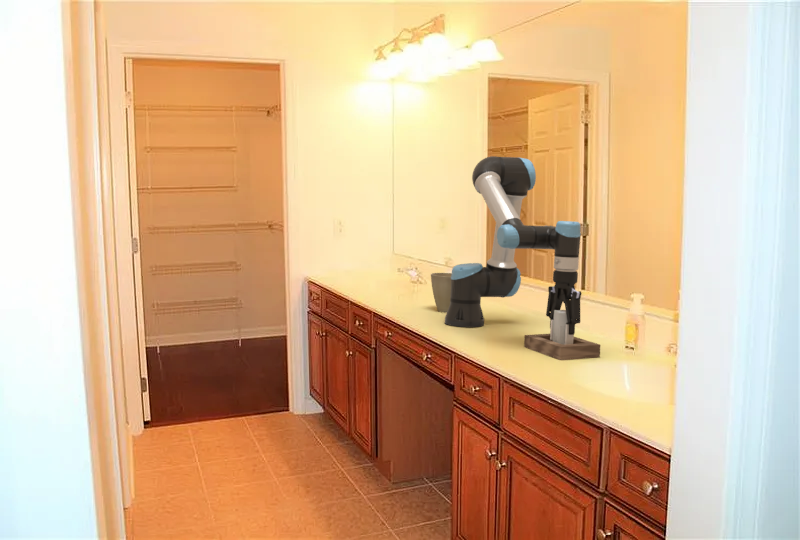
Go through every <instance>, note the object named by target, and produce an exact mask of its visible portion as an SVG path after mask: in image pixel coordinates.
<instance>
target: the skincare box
mask: <svg viewBox="0 0 800 540" xmlns="http://www.w3.org/2000/svg"><path fill="white" fill-rule="evenodd" d="M571 320H572V319H571ZM567 322H568V321H567V315H566V309H560V310H554V322H553V342H556V343H559V344H563V345H564V344H565V329H566V323H567Z"/></svg>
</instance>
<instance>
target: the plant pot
mask: <svg viewBox="0 0 800 540" xmlns="http://www.w3.org/2000/svg"><path fill="white" fill-rule="evenodd" d="M451 275H452V272H434V273H433V272H431V273H430V280H431V289H432V293H433V298H434V302H435V306H436V309H437V311H438V312H440V311H441V312H442V313H447V311H448V308H449V305H450V296H451Z"/></svg>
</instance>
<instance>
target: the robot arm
mask: <svg viewBox="0 0 800 540" xmlns="http://www.w3.org/2000/svg"><path fill="white" fill-rule="evenodd" d="M536 176H537V175H536V169H535V166H534V163H533V162H532V161H531V160H530V159H528V158H526V157H525V158H523V157H518V156H517V157H515V156H513V157H512V156H497V155H496V156H493V155H491V156H490V155H489V156H487V157H485V158H483V159H481V160H480V161H479V162H477V164H476V165H475V167H474V168H473V172H472V176H471V181H472V184H473V187H474V189H475V191H476V192H477V193H478V194H480V195H481V196H482V198H483V200H484V203H485V204H486V206H487V208H488V210H489V212H490V214H491V215H492V217H493V219H494V221H495V228H494V229H495V230H494V234H493V235H494V236H493V242H492V243H493V244H492V249H491V257H490V258H489V259H488V260H486V265H485V266H483V264H482V263H479V262H472V263H471V262H470V263H461V264H457V265H455V266H453V267H452V269H451V273H452V275H451V296H450V305H449V308H448V311H447V312H445V313H446V314H445V316H444V324H446V325H448V326H452V327H459V328H460V327H461V328H479V327H483V326H484V325H485V317H484V313H483V310H482V307H481V302H482V301H481V299H482V298H497V297H498V298H506V297H507V298H509V297H513V296H515V295H516V294H517V293H518V291H519V289H520V287H521V281H522V276H521V275H522V274H521V271H520V269H519V268H518V267H517V266H518V265H517V263H516V262H515V253H516V249H521V250H522V249H523V250H525V249H527V250H528V249H531V250H533V249H534V250H554V261H553V268H554V270H553V273H552V281H553V282H554V285H553V286H552V285H551V286H548V287H547V290H548V297H547V304H546V313H545V316H546V317H548V318H549V320H550V321H549V322H550V323H549V329H550V333H549V334H550V340H553V322H554V310H562V306H563V304H564V306H565V307H564V310H566V315H567V321H568V322H567V323H566V329H565V344H573V338H574V337H575V336H574V335H575V333H576V331H575V329H576V325H577V324H580V323H581V297H582V291H578V290H577V289H576V287H575V285H576V284H577V283H578V276H579V272H578V270H579V263H580V247H581V246H580V245H581V235H582V233H581V223H580V222H579V221H570V220H569V221H568V220H559V221H557V222H556V224H555V226H553V225H528V224H527V225H525V224H524V223H523V221H522V220H521V211H522V204H523V199H525V198H527V196H528V191H531V190H532V189H534V187H535V184H536V182H537V181H536V180H537V179H536V178H537V177H536ZM571 319H572V320H571Z"/></svg>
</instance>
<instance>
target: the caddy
mask: <svg viewBox="0 0 800 540" xmlns="http://www.w3.org/2000/svg"><path fill="white" fill-rule="evenodd" d="M523 339H524V341H523V342H524V343H523V348H525V349H529V350H531V351H534V352H537V353H540V354H542V355H545V356H548V357H550V358H554V359H556V360H559V361H568V360H569V361H570V360H580V359H583V360H584V359H594V358H600V355H601V344H599V343H596V342H594V341H589V340H586V339H582V338H580V337H576V336H574V338H573V344H564V345H563V344H559V343H556V342H553V340H550V333H538V334H524V338H523Z"/></svg>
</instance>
